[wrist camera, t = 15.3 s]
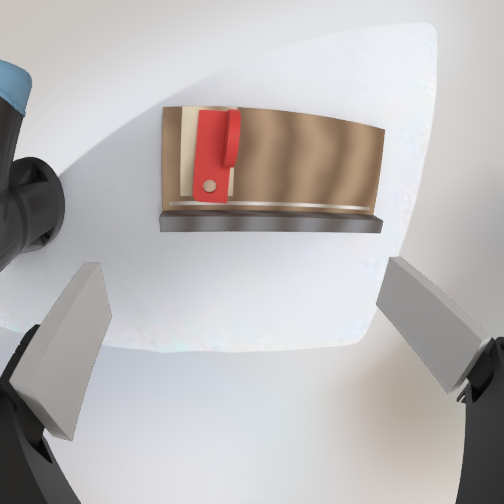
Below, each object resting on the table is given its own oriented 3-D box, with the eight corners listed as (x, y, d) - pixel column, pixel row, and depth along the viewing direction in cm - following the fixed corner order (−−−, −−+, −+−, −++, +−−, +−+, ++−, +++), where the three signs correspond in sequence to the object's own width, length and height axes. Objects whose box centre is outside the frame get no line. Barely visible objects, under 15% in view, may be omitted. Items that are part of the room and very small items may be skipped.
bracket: (199, 110, 31) (197, 103, 24) (235, 112, 32) (242, 107, 25) (192, 199, 36) (189, 217, 29) (226, 201, 37) (231, 219, 30)
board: (165, 220, 38) (160, 232, 34) (165, 108, 32) (159, 105, 27) (364, 222, 44) (380, 233, 39) (377, 129, 37) (396, 130, 33)
